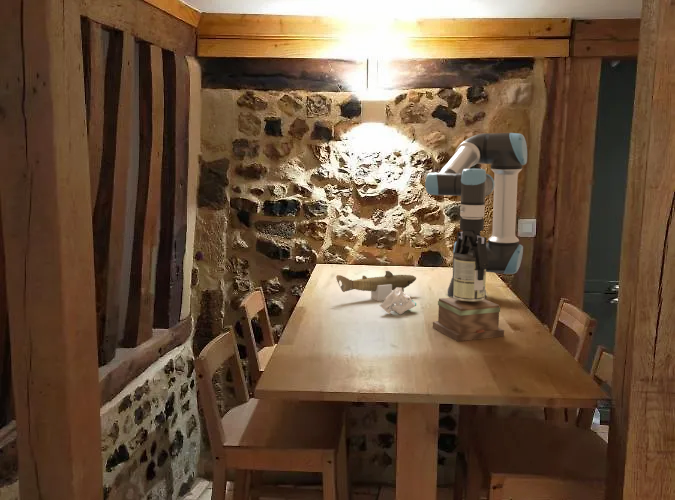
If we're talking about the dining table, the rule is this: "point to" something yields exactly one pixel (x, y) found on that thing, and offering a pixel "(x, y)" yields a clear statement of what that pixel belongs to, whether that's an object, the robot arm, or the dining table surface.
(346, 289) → the wood carving
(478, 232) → the robot arm
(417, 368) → the dining table surface
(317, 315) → the dining table surface
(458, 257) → the coffee can
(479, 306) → the stand
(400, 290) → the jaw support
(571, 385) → the dining table surface
